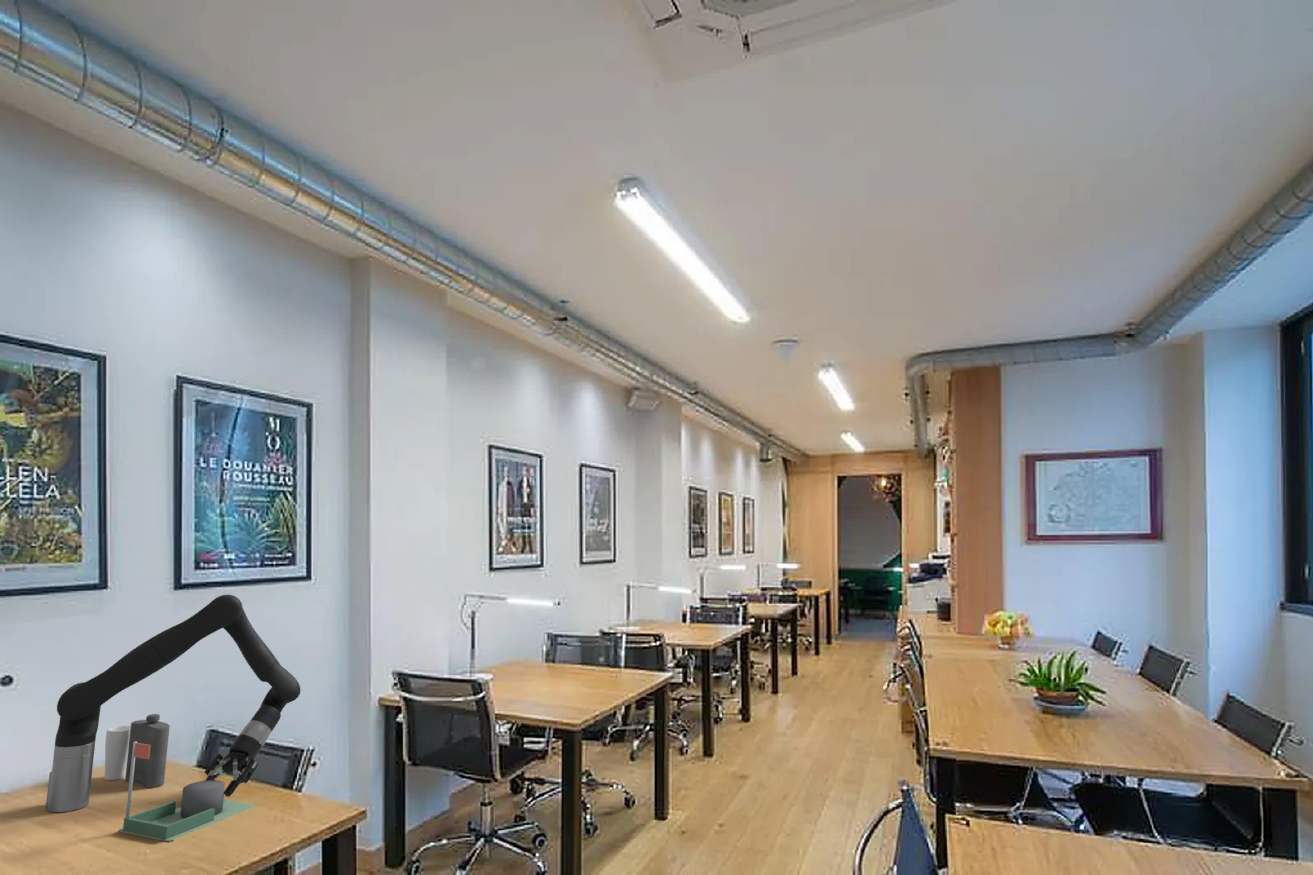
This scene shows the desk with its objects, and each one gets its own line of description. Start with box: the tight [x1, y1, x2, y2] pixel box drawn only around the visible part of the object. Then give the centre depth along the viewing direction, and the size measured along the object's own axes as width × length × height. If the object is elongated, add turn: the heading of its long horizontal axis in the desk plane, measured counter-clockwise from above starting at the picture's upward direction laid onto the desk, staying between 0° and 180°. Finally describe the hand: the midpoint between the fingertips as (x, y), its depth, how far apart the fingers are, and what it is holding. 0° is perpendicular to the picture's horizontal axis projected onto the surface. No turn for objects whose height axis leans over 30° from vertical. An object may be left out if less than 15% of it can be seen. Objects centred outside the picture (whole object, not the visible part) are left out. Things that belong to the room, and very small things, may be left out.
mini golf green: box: [118, 741, 258, 843], centre depth 211 cm, size 18×27×22 cm, turn 161°
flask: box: [124, 713, 170, 789], centre depth 238 cm, size 15×6×20 cm, turn 63°
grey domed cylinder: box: [180, 779, 225, 819], centre depth 213 cm, size 10×10×7 cm
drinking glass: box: [103, 725, 131, 781], centre depth 241 cm, size 7×7×15 cm
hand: (214, 793), depth 217 cm, fingers open, 8 cm apart
